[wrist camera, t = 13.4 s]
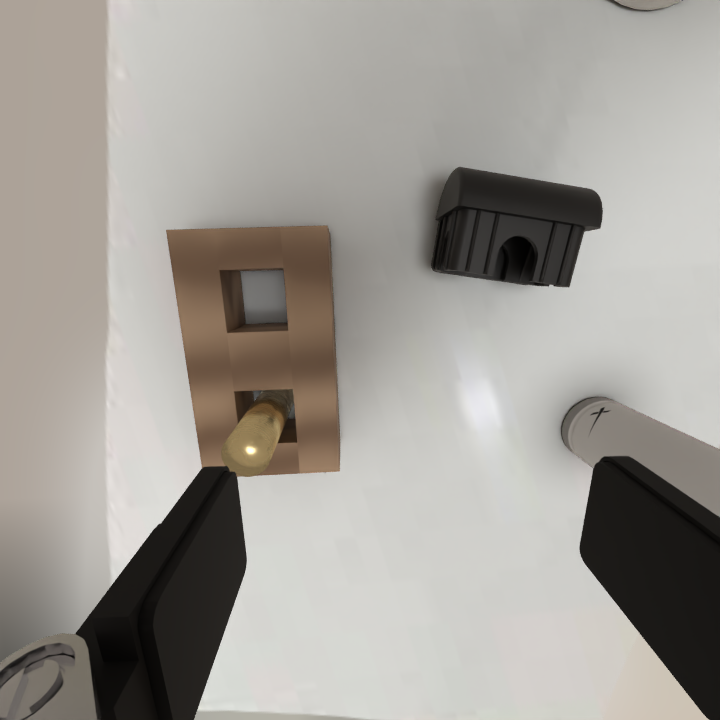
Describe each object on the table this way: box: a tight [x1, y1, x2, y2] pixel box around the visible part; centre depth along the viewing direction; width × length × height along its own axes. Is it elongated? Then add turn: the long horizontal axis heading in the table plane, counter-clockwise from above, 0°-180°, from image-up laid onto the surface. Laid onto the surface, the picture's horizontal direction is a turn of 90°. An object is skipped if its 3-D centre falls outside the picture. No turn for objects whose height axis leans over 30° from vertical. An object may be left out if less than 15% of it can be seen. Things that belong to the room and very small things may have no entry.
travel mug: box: [562, 397, 720, 517], centre depth 25 cm, size 6×7×20 cm
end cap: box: [431, 167, 603, 287], centre depth 27 cm, size 10×7×7 cm
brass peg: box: [221, 389, 294, 477], centre depth 27 cm, size 3×3×11 cm
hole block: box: [166, 226, 340, 477], centre depth 29 cm, size 19×11×5 cm, turn 2°
